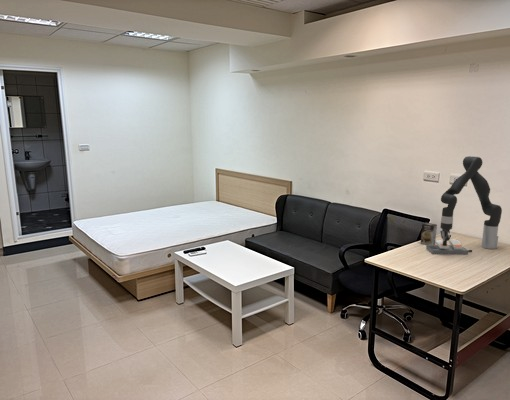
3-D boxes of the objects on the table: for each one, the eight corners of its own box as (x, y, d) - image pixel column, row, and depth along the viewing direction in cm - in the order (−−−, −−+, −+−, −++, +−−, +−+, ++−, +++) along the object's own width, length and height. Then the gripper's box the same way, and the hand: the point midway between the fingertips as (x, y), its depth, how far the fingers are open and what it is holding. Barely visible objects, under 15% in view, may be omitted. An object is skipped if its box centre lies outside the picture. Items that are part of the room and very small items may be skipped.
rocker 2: (457, 241, 286) (457, 239, 285) (462, 249, 277) (463, 246, 276) (448, 241, 286) (449, 239, 285) (454, 249, 277) (454, 246, 276)
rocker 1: (443, 242, 287) (443, 239, 286) (448, 248, 277) (449, 245, 276) (434, 242, 287) (435, 239, 286) (440, 248, 278) (440, 245, 277)
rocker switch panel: (467, 249, 287) (468, 244, 287) (475, 254, 276) (476, 249, 275) (426, 248, 289) (426, 243, 289) (432, 254, 278) (432, 248, 277)
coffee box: (420, 243, 302) (421, 223, 299) (423, 241, 306) (425, 222, 303) (432, 246, 295) (433, 225, 292) (435, 244, 300) (437, 224, 296)
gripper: (456, 224, 267) (453, 248, 270) (448, 219, 280) (446, 242, 283) (445, 224, 267) (442, 248, 271) (437, 219, 280) (435, 242, 284)
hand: (444, 245), depth 277 cm, fingers closed
